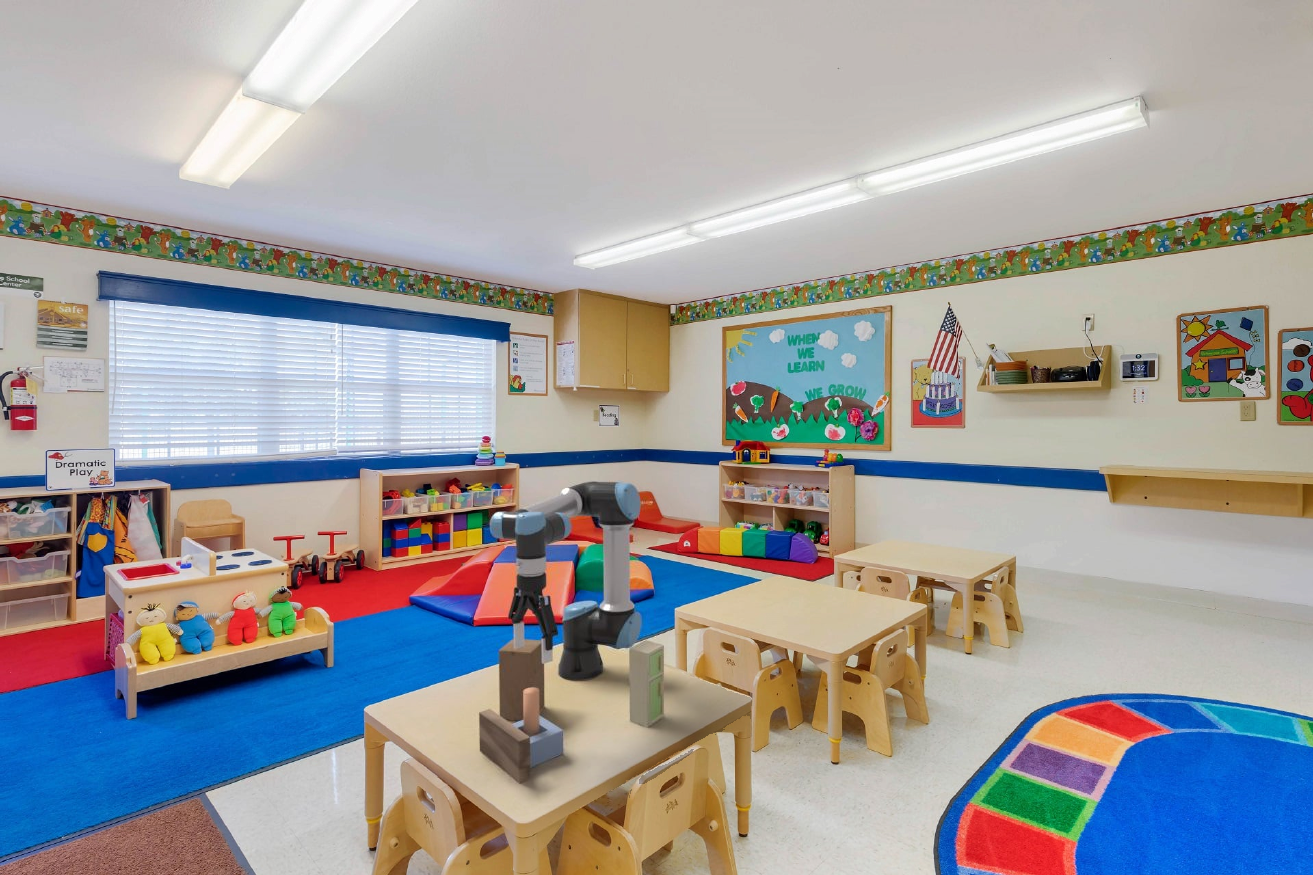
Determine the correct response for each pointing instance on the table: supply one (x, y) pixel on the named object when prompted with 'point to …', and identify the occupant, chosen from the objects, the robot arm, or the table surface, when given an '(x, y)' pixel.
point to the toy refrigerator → (646, 683)
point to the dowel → (531, 711)
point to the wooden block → (519, 677)
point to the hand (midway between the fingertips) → (532, 654)
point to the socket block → (544, 741)
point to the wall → (505, 745)
